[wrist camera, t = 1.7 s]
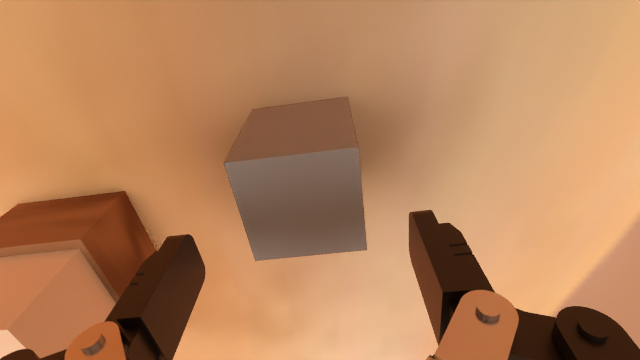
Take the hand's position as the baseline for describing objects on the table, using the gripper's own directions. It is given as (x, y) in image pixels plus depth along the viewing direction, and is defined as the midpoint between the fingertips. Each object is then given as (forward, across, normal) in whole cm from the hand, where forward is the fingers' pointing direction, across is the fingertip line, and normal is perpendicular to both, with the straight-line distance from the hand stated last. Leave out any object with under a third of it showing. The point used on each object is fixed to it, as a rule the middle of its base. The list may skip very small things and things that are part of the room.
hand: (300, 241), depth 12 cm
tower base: (+8, +15, +5) cm, 17 cm away
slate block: (+8, 0, 0) cm, 8 cm away
